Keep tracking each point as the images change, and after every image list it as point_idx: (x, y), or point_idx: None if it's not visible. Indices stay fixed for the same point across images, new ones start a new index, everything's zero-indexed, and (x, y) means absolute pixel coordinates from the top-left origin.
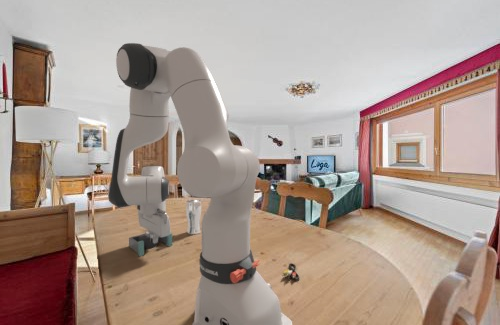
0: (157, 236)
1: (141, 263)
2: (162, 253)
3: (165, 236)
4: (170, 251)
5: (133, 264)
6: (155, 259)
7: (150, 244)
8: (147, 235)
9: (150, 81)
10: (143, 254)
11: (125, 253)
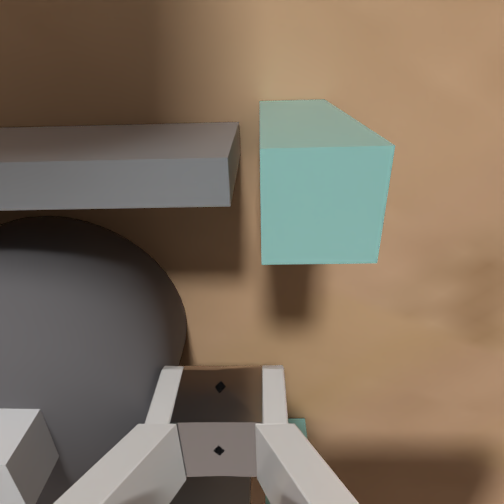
0: (321, 476)
1: (439, 467)
2: (435, 304)
3: (158, 200)
4: (482, 219)
5: (398, 496)
6: (488, 391)
7: None
8: (39, 478)
9: None
10: (304, 428)
11: None
